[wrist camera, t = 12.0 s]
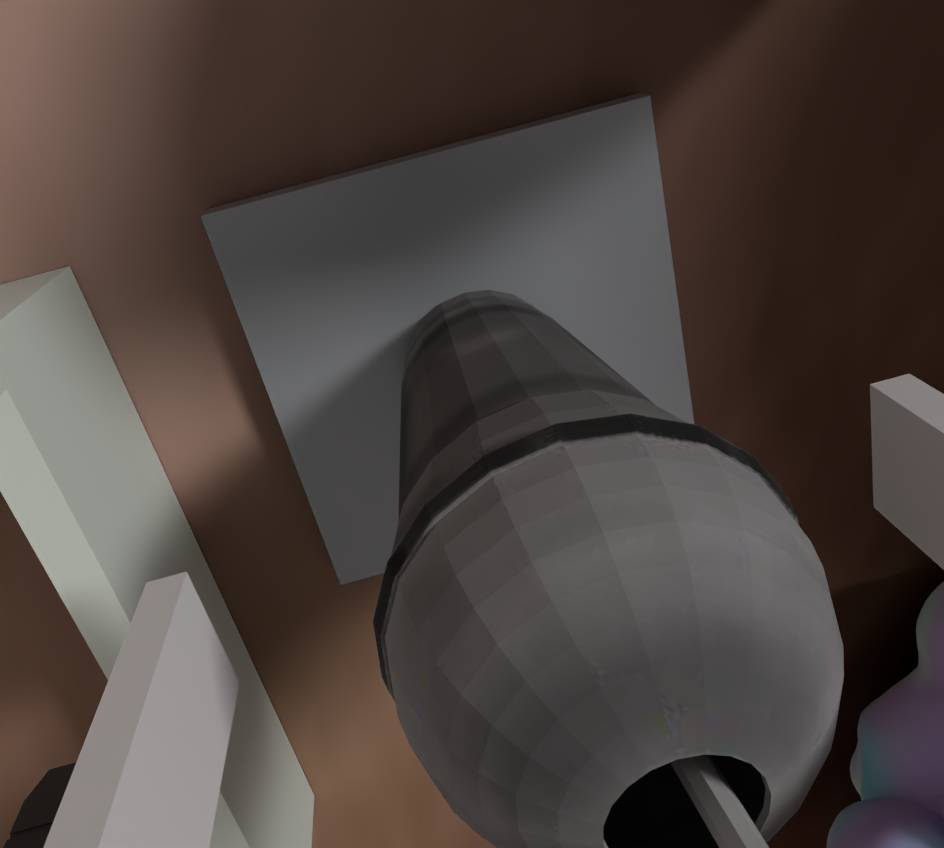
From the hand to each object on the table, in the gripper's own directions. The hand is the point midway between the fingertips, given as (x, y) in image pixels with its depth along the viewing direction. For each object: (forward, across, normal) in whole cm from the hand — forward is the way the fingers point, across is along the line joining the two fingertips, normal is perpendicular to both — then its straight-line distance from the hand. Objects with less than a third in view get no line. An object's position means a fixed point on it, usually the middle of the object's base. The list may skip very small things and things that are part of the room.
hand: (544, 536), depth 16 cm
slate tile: (+10, 0, 0) cm, 10 cm away
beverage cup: (+9, 0, 0) cm, 9 cm away
